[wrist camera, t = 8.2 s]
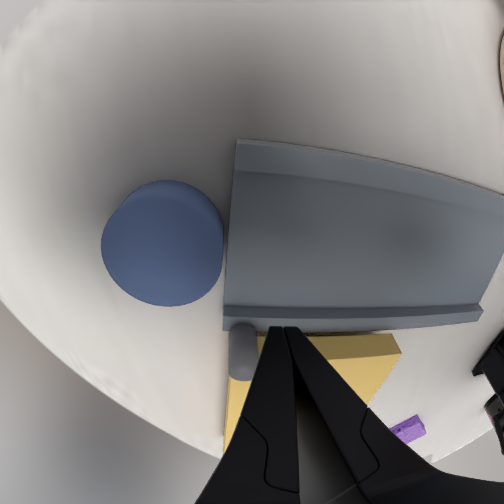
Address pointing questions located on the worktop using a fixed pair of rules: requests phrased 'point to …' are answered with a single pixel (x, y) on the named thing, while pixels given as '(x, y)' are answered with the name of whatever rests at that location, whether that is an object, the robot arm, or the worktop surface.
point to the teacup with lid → (502, 63)
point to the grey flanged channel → (354, 242)
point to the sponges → (409, 429)
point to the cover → (331, 347)
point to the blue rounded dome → (164, 244)
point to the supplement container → (493, 408)
